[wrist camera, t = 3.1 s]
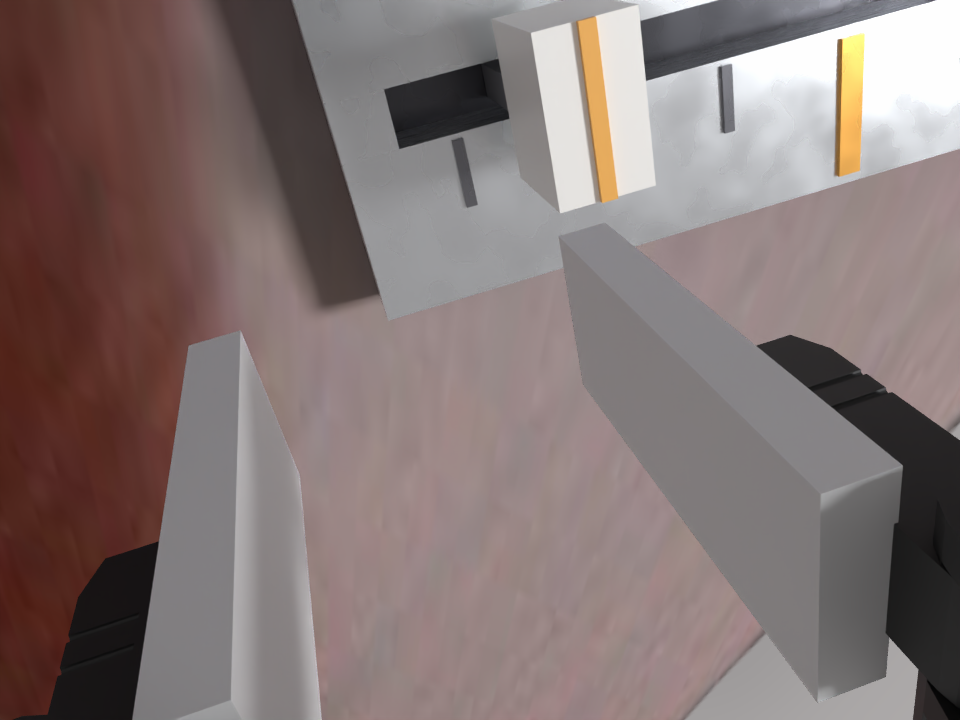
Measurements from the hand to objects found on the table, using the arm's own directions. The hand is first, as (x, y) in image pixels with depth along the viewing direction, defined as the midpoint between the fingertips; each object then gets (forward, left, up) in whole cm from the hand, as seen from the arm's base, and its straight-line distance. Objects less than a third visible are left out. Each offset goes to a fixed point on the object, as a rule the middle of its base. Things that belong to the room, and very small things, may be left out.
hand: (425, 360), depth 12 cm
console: (0, +14, -19) cm, 23 cm away
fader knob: (0, +7, -19) cm, 20 cm away
